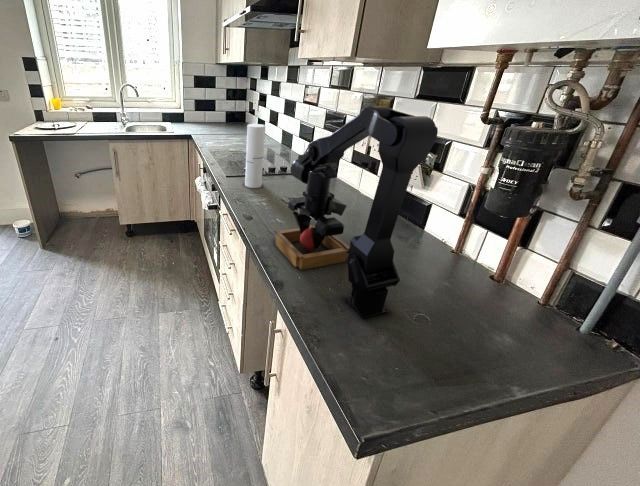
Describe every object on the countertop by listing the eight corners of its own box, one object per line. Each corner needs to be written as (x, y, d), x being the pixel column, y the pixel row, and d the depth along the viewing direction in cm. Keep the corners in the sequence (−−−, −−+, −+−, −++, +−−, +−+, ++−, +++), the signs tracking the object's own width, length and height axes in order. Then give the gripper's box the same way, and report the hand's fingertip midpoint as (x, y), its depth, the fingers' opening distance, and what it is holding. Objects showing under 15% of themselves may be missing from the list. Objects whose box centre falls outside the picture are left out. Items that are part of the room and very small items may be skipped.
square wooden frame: (348, 261, 86) (351, 247, 84) (298, 270, 81) (300, 256, 80) (317, 235, 99) (319, 223, 97) (273, 241, 94) (274, 229, 92)
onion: (322, 249, 91) (326, 224, 88) (315, 258, 87) (319, 232, 83) (302, 243, 94) (306, 219, 90) (295, 252, 89) (298, 227, 86)
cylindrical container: (261, 188, 135) (265, 127, 124) (244, 187, 135) (247, 126, 124) (261, 182, 141) (264, 124, 130) (245, 182, 141) (247, 123, 130)
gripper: (367, 200, 77) (355, 255, 84) (324, 176, 93) (317, 224, 99) (328, 205, 73) (318, 262, 80) (290, 179, 89) (284, 229, 96)
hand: (310, 242), depth 89 cm, fingers closed on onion, 6 cm apart
